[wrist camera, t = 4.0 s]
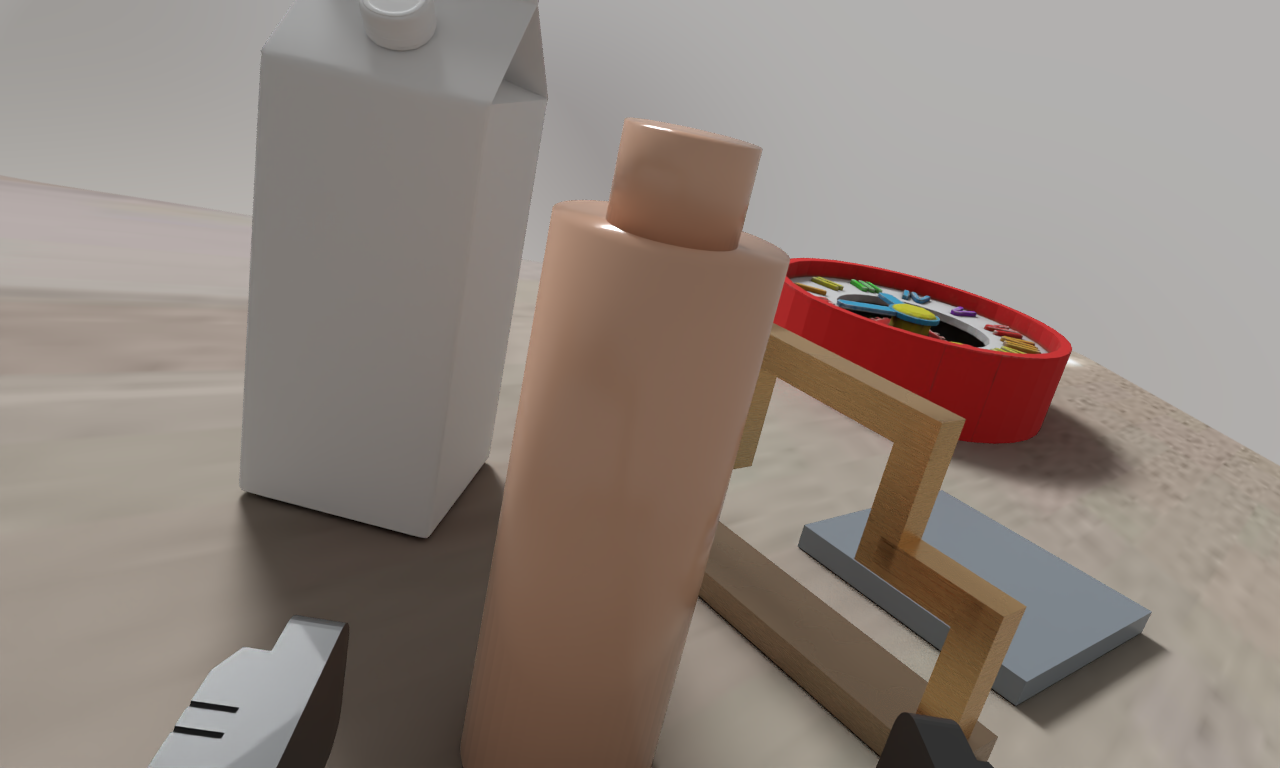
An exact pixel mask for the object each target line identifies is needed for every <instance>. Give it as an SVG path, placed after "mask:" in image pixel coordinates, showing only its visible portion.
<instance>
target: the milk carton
mask: <svg viewBox="0 0 1280 768" xmlns="http://www.w3.org/2000/svg"><path fill="white" fill-rule="evenodd" d="M538 2H539V0H295V1H294V2H293V4H292V5H291V6H290V8H289V9H288V11H287V12H286V14H285V15H284V17H283V18H282V20H281V21H280V22H279V24H278V25H277V27H276V28H275V30H274V31H273V33H272V34H271V36H270V37H269V39H268V40H267V42H266V43H265V45H264V46H263V48H262V50H261V53H262V56H261V67H260V83H259V102H258V122H257V142H256V161H255V181H254V182H255V183H254V202H253V220H252V240H251V260H250V280H249V300H248V320H247V340H246V359H245V379H244V399H243V419H242V439H241V459H240V479H239V483H240V488H241V490H244V491H247V492H250V493H254V494H257V495H261V496H265V497H268V498H272V499H276V500H280V501H284V502H287V503H291V504H295V505H299V506H303V507H306V508H310V509H314V510H318V511H322V512H325V513H329V514H333V515H337V516H341V517H344V518H348V519H352V520H356V521H360V522H363V523H367V524H371V525H375V526H378V527H382V528H386V529H390V530H394V531H397V532H401V533H405V534H409V535H413V536H417V537H422V538H428V537H429V536H430V535H431V533H432V532H433V531H434V529H435V528H436V527H437V525H438V524H439V523H440V521H441V520H442V519H443V517H444V516H445V515H446V513H447V512H448V511H449V509H450V508H451V507H452V505H453V504H454V503H455V501H456V500H457V499H458V497H459V496H460V495H461V493H462V492H463V491H464V489H465V488H466V487H467V485H468V484H469V483H470V481H471V480H472V479H473V477H474V476H475V475H476V473H477V472H478V471H479V469H480V468H481V467H482V465H483V464H484V463H485V461H486V460H487V458H488V457H489V454H490V449H491V442H492V436H493V430H494V424H495V418H496V412H497V406H498V400H499V393H500V387H501V381H502V375H503V369H504V363H505V357H506V350H507V344H508V338H509V332H510V326H511V320H512V314H513V307H514V301H515V295H516V289H517V283H518V277H519V271H520V265H521V258H522V252H523V246H524V239H525V234H526V227H527V222H528V215H529V209H530V202H531V196H532V191H533V185H534V179H535V173H536V166H537V160H538V154H539V148H540V142H541V135H542V130H543V123H544V116H545V110H546V105H547V100H548V94H547V85H546V75H545V66H544V57H543V48H542V39H541V29H540V21H539V11H538Z"/></svg>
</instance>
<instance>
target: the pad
mask: <svg viewBox="0 0 1280 768" xmlns="http://www.w3.org/2000/svg"><path fill="white" fill-rule="evenodd" d="M870 511H871V508H870V509H866V510H862V511H858V512H854V513H850V514H846V515H842V516H838V517H834V518H830V519H826V520H822V521H818V522H814V523H811V524H807V525H804V528H803V531H802V534H801V537H800V540H799V544H798V546H799V547H800V548H801V549H803V550H804V551H805V552H807V553H808V554H809V555H811V556H812V557H814V558H815V559H816V560H818V561H819V562H820V563H822V564H823V565H824V566H826V567H827V568H829V569H830V570H831V571H833V572H834V573H835V574H837V575H838V576H839V577H841V578H842V579H844V580H845V581H846V582H848V583H849V584H850V585H852V586H853V587H854V588H856V589H857V590H859V591H860V592H861V593H863V594H864V595H865V596H867V597H868V598H869V599H871V600H872V601H874V602H875V603H876V604H878V605H879V606H880V607H882V608H883V609H884V610H886V611H887V612H889V613H890V614H891V615H893V616H894V617H895V618H897V619H898V620H899V621H901V622H902V623H904V624H905V625H906V626H908V627H909V628H910V629H912V630H913V631H914V632H916V633H917V634H919V635H920V636H921V637H923V638H924V639H925V640H927V641H928V642H929V643H931V644H932V645H934V646H935V647H936V648H938V649H939V650H940V651H941V650H942V647H943V645H944V642H945V640H946V637H947V635H948V632H949V630H950V626H948V625H947V624H946V623H944V622H943V621H941V620H940V619H938V618H937V617H936V616H934V615H933V614H931V613H930V612H929V611H927V610H926V609H924V608H923V607H921V606H920V605H919V604H917V603H916V602H914V601H913V600H911V599H910V598H909V597H907V596H906V595H904V594H903V593H902V592H900V591H899V590H897V589H896V588H894V587H893V586H892V585H890V584H889V583H887V582H886V581H884V580H883V579H882V578H880V577H879V576H877V575H876V574H875V573H873V572H872V571H870V570H869V569H867V568H866V567H865V566H863V565H862V564H860V563H859V562H857V561H856V560H855V559H854V558H855V555H856V552H857V549H858V546H859V543H860V540H861V537H862V534H863V532H864V529H865V526H866V523H867V520H868V517H869V514H870ZM922 540H923V541H925V542H926V543H928V544H929V545H931V546H933V547H934V548H936V549H937V550H939V551H940V552H942V553H944V554H945V555H947V556H948V557H950V558H951V559H953V560H955V561H956V562H958V563H959V564H961V565H962V566H964V567H966V568H967V569H969V570H970V571H972V572H973V573H975V574H976V575H978V576H980V577H981V578H983V579H984V580H986V581H987V582H989V583H991V584H992V585H994V586H995V587H997V588H998V589H1000V590H1002V591H1003V592H1005V593H1006V594H1008V595H1009V596H1011V597H1012V598H1014V599H1016V600H1017V601H1019V602H1020V603H1022V604H1023V605H1025V606H1027V607H1026V610H1025V612H1024V614H1023V616H1022V619H1021V621H1020V623H1019V626H1018V628H1017V630H1016V633H1015V635H1014V637H1013V639H1012V642H1011V644H1010V646H1009V649H1008V651H1007V653H1006V655H1005V658H1004V660H1003V662H1002V665H1001V667H1000V669H999V672H998V674H997V676H996V678H995V681H994V683H993V685H992V689H994V690H995V691H996V692H998V693H999V694H1000V695H1002V696H1003V697H1004V698H1006V699H1007V700H1009V701H1010V702H1011V703H1013V704H1014V705H1015V706H1017V705H1018V704H1020V703H1022V702H1023V701H1025V700H1027V699H1028V698H1030V697H1032V696H1034V695H1035V694H1037V693H1039V692H1040V691H1042V690H1044V689H1046V688H1047V687H1049V686H1051V685H1052V684H1054V683H1056V682H1058V681H1059V680H1061V679H1063V678H1064V677H1066V676H1068V675H1070V674H1071V673H1073V672H1075V671H1076V670H1078V669H1080V668H1081V667H1083V666H1085V665H1087V664H1088V663H1090V662H1092V661H1093V660H1095V659H1097V658H1099V657H1100V656H1102V655H1104V654H1105V653H1107V652H1109V651H1111V650H1112V649H1114V648H1116V647H1117V646H1119V645H1121V644H1123V643H1124V642H1126V641H1128V640H1129V639H1131V638H1133V637H1134V636H1136V635H1138V634H1140V633H1141V632H1142V631H1143V629H1144V627H1145V625H1146V623H1147V621H1148V619H1149V617H1150V615H1151V613H1152V612H1151V611H1150V610H1148V609H1146V608H1144V607H1143V606H1141V605H1139V604H1138V603H1136V602H1134V601H1132V600H1131V599H1129V598H1127V597H1125V596H1124V595H1122V594H1120V593H1119V592H1117V591H1115V590H1113V589H1112V588H1110V587H1108V586H1106V585H1105V584H1103V583H1101V582H1100V581H1098V580H1096V579H1094V578H1093V577H1091V576H1089V575H1087V574H1086V573H1084V572H1082V571H1081V570H1079V569H1077V568H1075V567H1074V566H1072V565H1070V564H1068V563H1067V562H1065V561H1063V560H1062V559H1060V558H1058V557H1056V556H1055V555H1053V554H1051V553H1049V552H1048V551H1046V550H1044V549H1043V548H1041V547H1039V546H1037V545H1036V544H1034V543H1032V542H1030V541H1029V540H1027V539H1025V538H1024V537H1022V536H1020V535H1018V534H1017V533H1015V532H1013V531H1011V530H1010V529H1008V528H1006V527H1005V526H1003V525H1001V524H999V523H998V522H996V521H994V520H992V519H991V518H989V517H987V516H986V515H984V514H982V513H980V512H979V511H977V510H975V509H973V508H972V507H970V506H968V505H967V504H965V503H963V502H961V501H960V500H958V499H956V498H955V497H953V496H951V495H949V494H948V493H946V492H944V491H942V490H941V491H939V493H938V496H937V498H936V501H935V504H934V506H933V509H932V512H931V514H930V517H929V520H928V522H927V525H926V528H925V530H924V533H923V536H922Z"/></svg>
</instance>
